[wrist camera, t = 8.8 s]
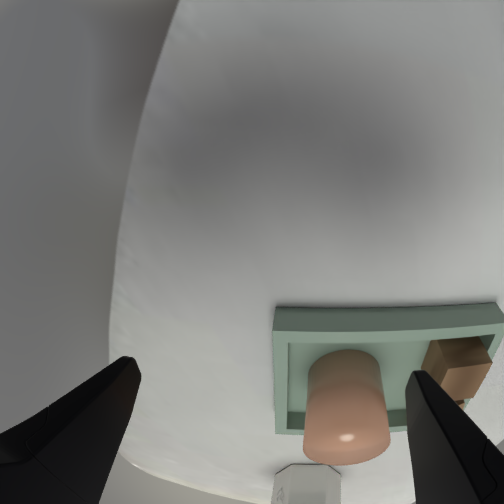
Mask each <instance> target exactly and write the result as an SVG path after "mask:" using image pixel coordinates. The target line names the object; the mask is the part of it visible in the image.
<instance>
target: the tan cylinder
mask: <svg viewBox="0 0 504 504" xmlns="http://www.w3.org/2000/svg"><path fill="white" fill-rule="evenodd" d="M389 445H390V431H389V424H388V416H387V409H386V402H385V395H384V389H383V383H382V377H381V371H380V366H379V363H378V361H377V360H376V359H375V358H374V357H373V356H372V355H370V354H368V353H366V352H363V351H359V350H349V349H348V350H339V351H334V352H331V353H328V354H326V355H324V356H322V357H320V358H319V359H318V360H316V361H315V362H314V363H313V365H312V366H311V368H310V369H309V372H308V383H307V400H306V415H305V429H304V441H303V452H304V454H305V455H306V456H307V457H308V458H309V459H311V460H313V461H315V462H318V463H321V464H326V465H352V464H358V463H362V462H365V461H368V460H371V459H373V458H375V457H377V456H379V455H380V454H382V453H383V452H384V451H385V450H386V449H387V448H388V446H389Z"/></svg>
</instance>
